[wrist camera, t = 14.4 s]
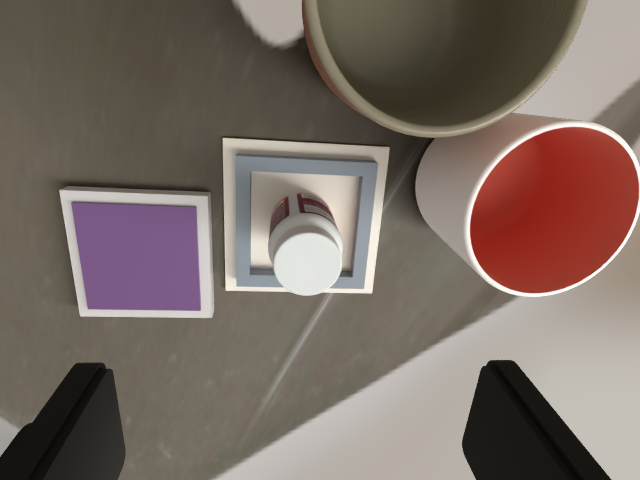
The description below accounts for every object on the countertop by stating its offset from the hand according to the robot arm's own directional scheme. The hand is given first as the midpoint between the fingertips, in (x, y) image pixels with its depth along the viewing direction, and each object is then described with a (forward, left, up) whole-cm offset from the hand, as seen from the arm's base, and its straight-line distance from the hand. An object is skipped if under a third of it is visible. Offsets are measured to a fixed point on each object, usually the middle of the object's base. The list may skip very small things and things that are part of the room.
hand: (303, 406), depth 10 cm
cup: (-2, +14, -22) cm, 26 cm away
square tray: (+2, +1, -22) cm, 22 cm away
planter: (-12, +6, -22) cm, 26 cm away
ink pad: (+5, -11, -22) cm, 25 cm away
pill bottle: (+2, +1, -22) cm, 22 cm away
